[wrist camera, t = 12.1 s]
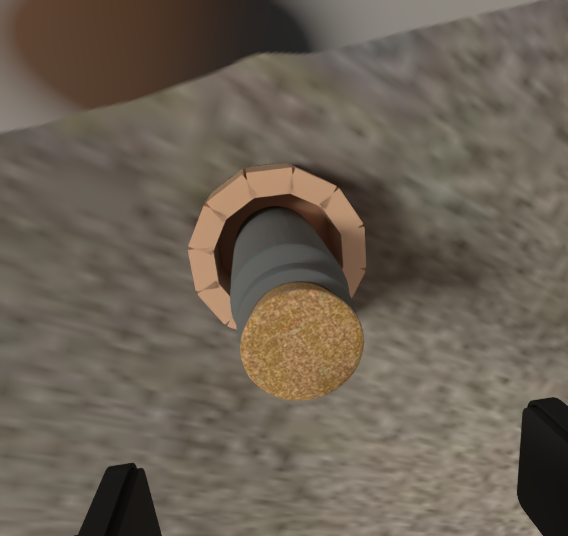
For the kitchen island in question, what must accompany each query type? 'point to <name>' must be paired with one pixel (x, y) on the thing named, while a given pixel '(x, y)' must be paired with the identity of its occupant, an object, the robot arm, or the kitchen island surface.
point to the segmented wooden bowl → (264, 193)
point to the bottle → (292, 307)
